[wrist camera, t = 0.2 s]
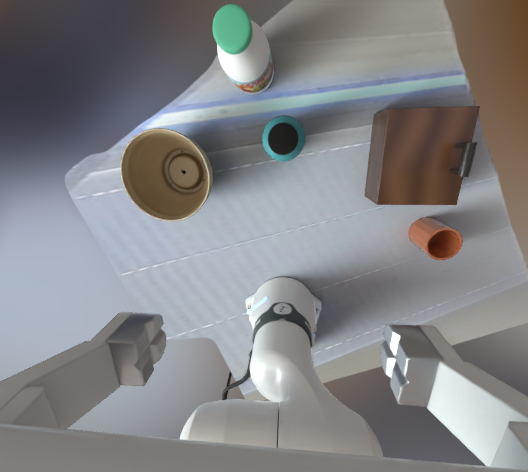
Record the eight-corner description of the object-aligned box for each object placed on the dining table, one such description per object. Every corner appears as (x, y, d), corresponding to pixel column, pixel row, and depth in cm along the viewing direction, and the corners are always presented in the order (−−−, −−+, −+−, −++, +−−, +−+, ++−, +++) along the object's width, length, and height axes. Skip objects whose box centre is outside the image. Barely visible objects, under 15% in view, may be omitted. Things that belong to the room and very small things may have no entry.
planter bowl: (212, 218, 59) (196, 233, 49) (144, 192, 58) (114, 202, 48) (233, 148, 53) (220, 149, 43) (159, 119, 53) (128, 113, 43)
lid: (476, 106, 41) (498, 102, 36) (453, 203, 46) (471, 210, 42) (387, 109, 42) (399, 105, 38) (375, 203, 47) (384, 209, 43)
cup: (436, 245, 56) (458, 260, 49) (406, 245, 57) (422, 259, 50) (443, 217, 54) (466, 228, 47) (411, 217, 55) (429, 228, 48)
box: (444, 112, 48) (470, 107, 41) (427, 196, 53) (448, 203, 46) (373, 114, 49) (387, 109, 42) (364, 196, 54) (375, 203, 47)
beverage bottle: (299, 119, 50) (305, 104, 32) (303, 154, 52) (310, 160, 34) (266, 125, 51) (253, 114, 32) (271, 159, 53) (261, 168, 35)
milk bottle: (225, 74, 49) (185, 31, 30) (251, 37, 47) (226, -35, 28) (255, 104, 50) (235, 81, 31) (282, 70, 48) (278, 22, 29)
